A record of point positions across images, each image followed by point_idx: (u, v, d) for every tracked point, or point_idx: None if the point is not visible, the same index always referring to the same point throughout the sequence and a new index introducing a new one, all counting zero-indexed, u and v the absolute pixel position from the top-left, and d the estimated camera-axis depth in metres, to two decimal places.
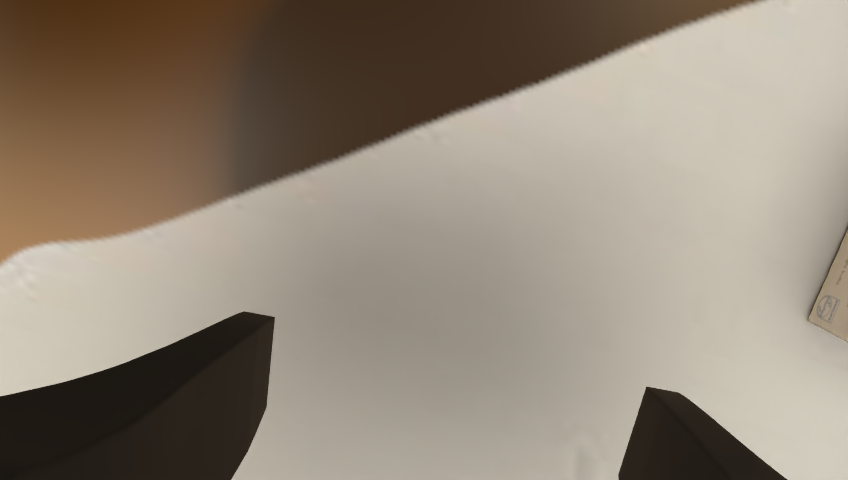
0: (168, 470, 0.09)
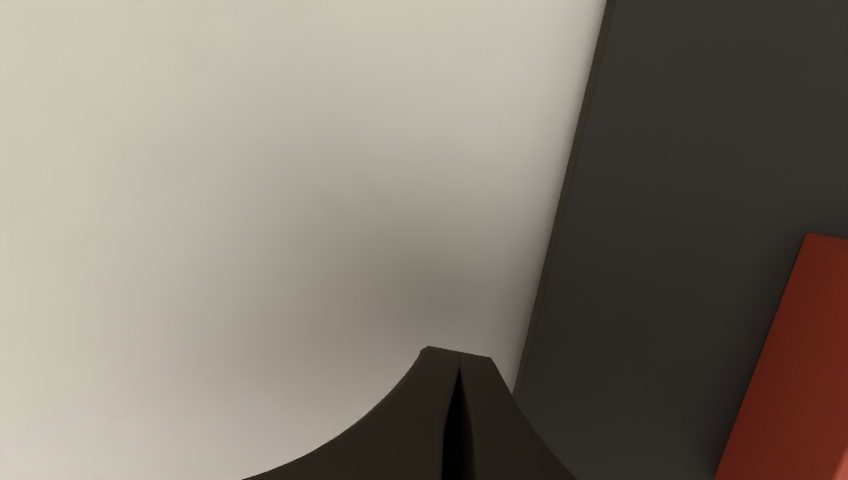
0: None
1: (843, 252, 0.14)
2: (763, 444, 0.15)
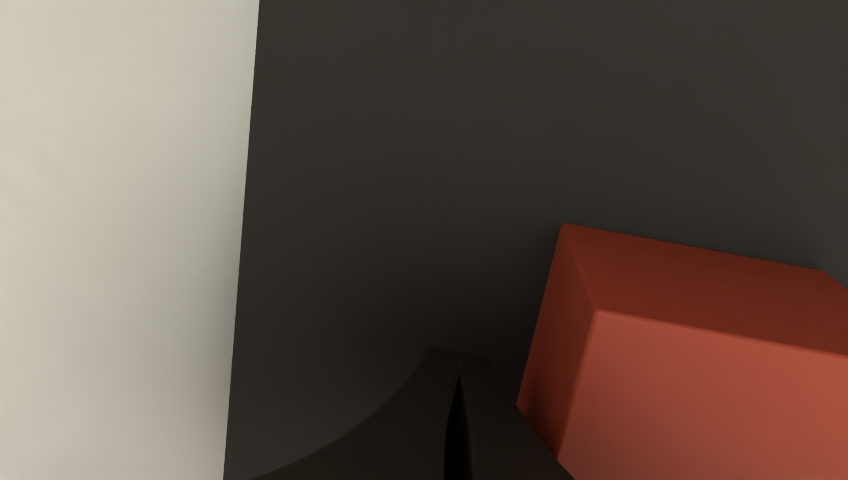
0: None
1: (578, 246, 0.11)
2: None
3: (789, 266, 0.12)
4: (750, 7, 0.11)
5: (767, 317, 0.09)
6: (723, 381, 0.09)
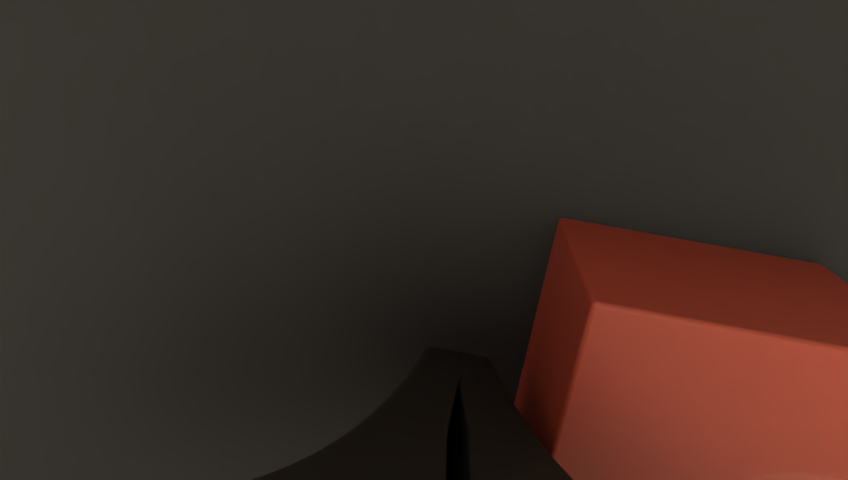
0: None
1: (576, 240, 0.11)
2: None
3: (787, 259, 0.12)
4: None
5: (765, 308, 0.09)
6: (720, 373, 0.09)
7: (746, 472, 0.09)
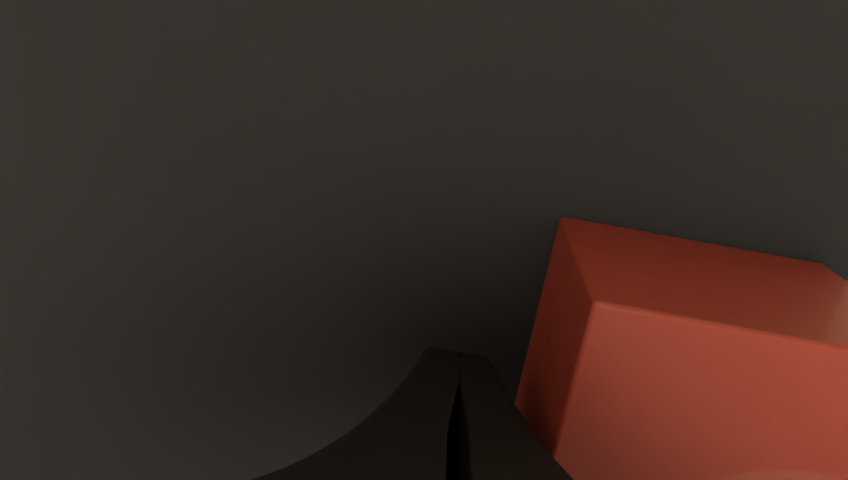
0: None
1: (577, 239, 0.11)
2: None
3: (789, 259, 0.12)
4: None
5: (767, 308, 0.09)
6: (722, 373, 0.09)
7: (747, 473, 0.09)
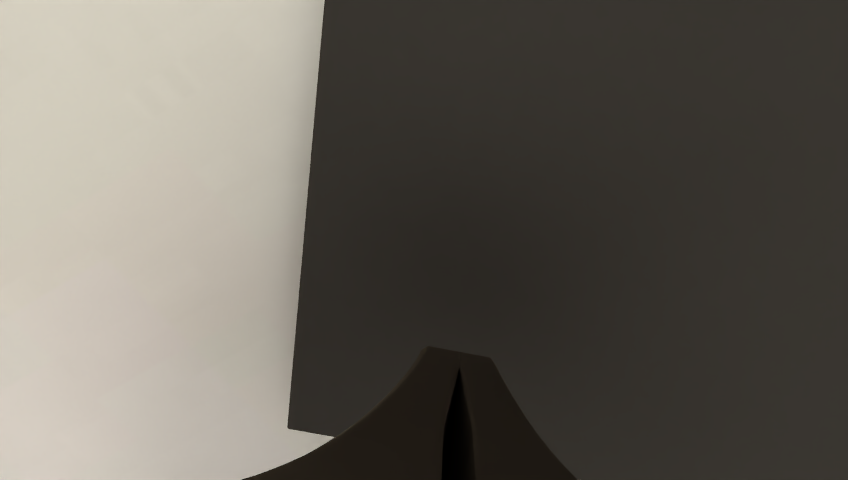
0: None
1: None
2: None
3: None
4: None
5: None
6: None
7: None
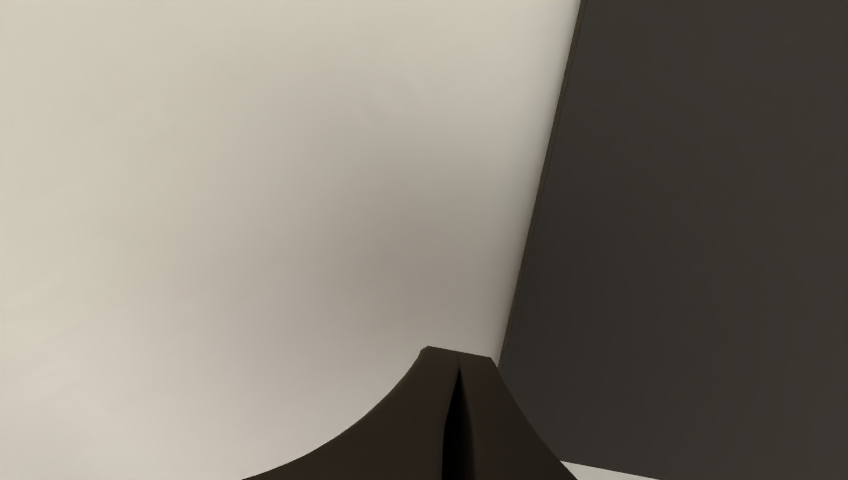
0: None
1: None
2: None
3: None
4: None
5: None
6: None
7: None
